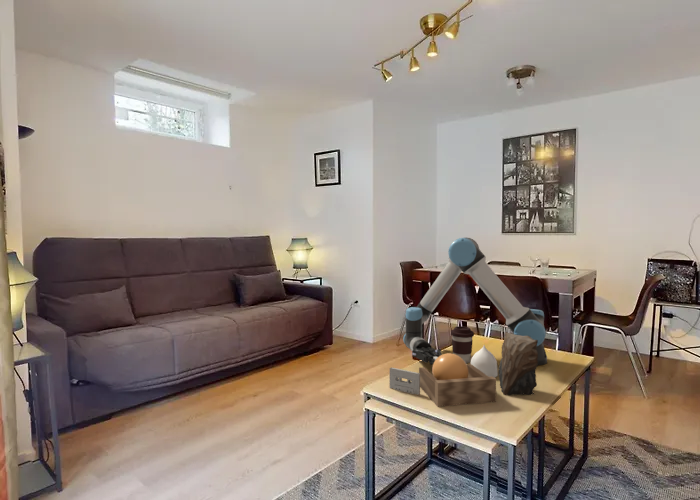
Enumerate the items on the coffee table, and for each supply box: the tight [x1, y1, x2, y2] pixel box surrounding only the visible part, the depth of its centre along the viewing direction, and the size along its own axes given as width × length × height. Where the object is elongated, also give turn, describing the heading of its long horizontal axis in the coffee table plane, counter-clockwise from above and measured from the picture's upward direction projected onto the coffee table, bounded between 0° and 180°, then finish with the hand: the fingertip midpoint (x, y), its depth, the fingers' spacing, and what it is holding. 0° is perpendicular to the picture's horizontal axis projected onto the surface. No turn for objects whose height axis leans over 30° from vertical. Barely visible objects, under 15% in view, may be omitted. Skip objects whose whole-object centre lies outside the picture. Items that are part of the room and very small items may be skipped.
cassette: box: [389, 367, 421, 395], centre depth 152 cm, size 12×2×8 cm, turn 57°
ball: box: [431, 352, 468, 380], centre depth 154 cm, size 13×13×13 cm
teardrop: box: [470, 344, 499, 378], centre depth 170 cm, size 11×11×12 cm
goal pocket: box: [418, 363, 497, 408], centre depth 150 cm, size 21×18×8 cm
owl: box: [497, 331, 539, 396], centre depth 153 cm, size 13×13×20 cm
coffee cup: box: [450, 325, 475, 364], centre depth 185 cm, size 10×10×15 cm
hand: (441, 365), depth 161 cm, fingers closed
